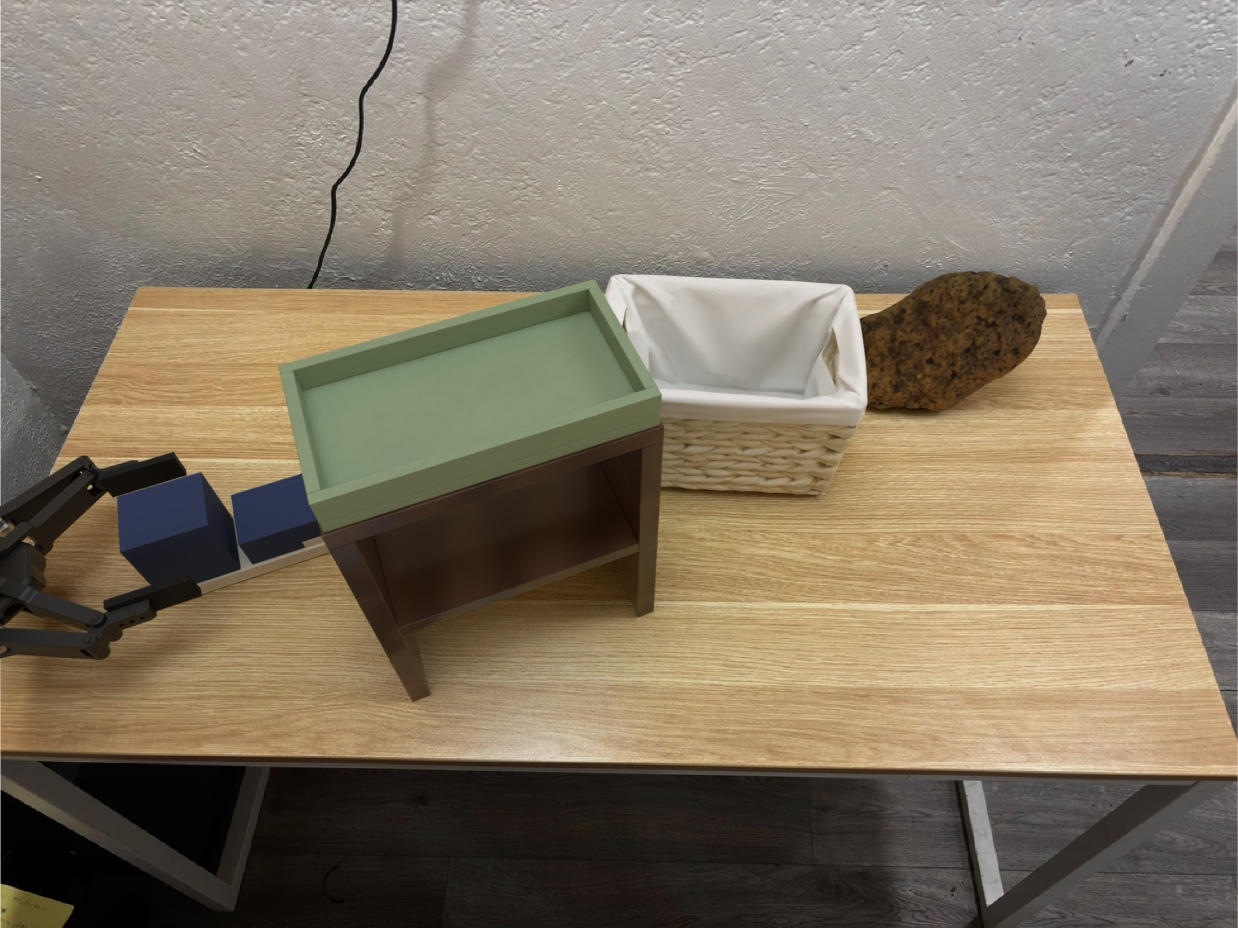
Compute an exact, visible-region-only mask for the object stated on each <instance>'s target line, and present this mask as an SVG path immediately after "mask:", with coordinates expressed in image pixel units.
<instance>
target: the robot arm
mask: <svg viewBox="0 0 1238 928" xmlns="http://www.w3.org/2000/svg"><path fill="white" fill-rule="evenodd" d="M185 476H188V472H187V469H186V467H185V466H184V464H183V463H182V462H181V460H180V459H179V457H178V456H177V454H176V453H175V452H174V451H172V452H171V451H170V452H169V453H165V454H162V455H158V456H155V457H152V458H147V459H145V460H140V461H139V460H138V459H130V460H127V461H124V462H120V463H117V464H113V465H110V466H106V467H102V468H100V467H98V466H97V465H96V464H95V462H94V461H93V460H92V459H91V458H90V456H88V455H85V454H83V455H80V456H78V457H76V458H75V459H74V460H72V461H70V462H68V463H67V464H66V465H64V466H63V467H61V468H59V469H57V470H56V471H54V472H53V473H51V474H49V475H48V476H47V477H44V479H42V480H41V481H39V482H37V483H35V484H34V485H32V486H31V487H29V488H28V489H26V490H25V491H23V492H22V493H19V494H18V495H17V496H15V497H13V498H12V499H11V500H9V501H7V502H6V503H4V504H1V505H0V660H1V659H5V658H9V657H14V656H31V657H33V656H34V657H46V658H60V659H61V658H62V659H74V660H75V659H76V660H91V661H104V660H106V659H107V658H108V657H109V656H110V655H111V652H112V649H111V647H110V644H111V643H115V642H118V641H120V640H121V639H122V638H123V635H124V632H123V631H124V630H126V629H130V628H133V627H135V626H138V625H142V624H145V623H148V622H150V621H153V620H154V619H155V618H156V617H158V612H159V611H163V610H166V609H168V608H171V607H174V606H178V605H180V604H183V603H187V602H189V601H192V600H195V599H199V598H201V597H203V594H202V592H201V588H200V587H199V586H198V585H197V583H196V582H195V581H194V580H193V579H192V578H191V576H190V575H189V574H188V573H186V574H183V575H180V576H177V577H174V578H171V579H168V580H165V581H162V582H159V583H156V584H153V585H150V584H149V585H147V586H143V587H141V588H137V589H135V590H131V591H129V592H128V591H127V592H125V593H121V594H118V595H116V596H113V597H110V598H107V599H103V600H102V602H103V603H102V604H103V609H104V612H102V610H101V611H100V610H97V609H94V608H91V607H90V606H85V605H82V604H79V603H76V602H74V601H70V600H67V599H64V598H61V597H58V596H55V595H52V594H49V593H45V592H43V590H45V589H47V579H46V575H45V571H46V568H47V557H46V556H47V555H48V554H49V553H50V552H51V551H52V550H53V548H54V543H55V541H56V540H57V539H58V538H60V537H61V536H62V534H64V533H65V532H66V531H67V530H68V529H69V528H70V527H71V526H73V525H74V523H76V522H77V521H78V520H79V519H80V518H81V517H83V515H84V514H85V513H87V511H88V510H90V509H91V508H92V507H93V506H94V505H95V504H97V502H98V501H99V500H101V498H102V497H104V496H105V495H106V494H107V493H108V494H109V495H110V496H111V498H113V499H114V498H117V497H118V496H121V495H125V494H128V493H131V492H135V491H138V490H141V489H145V488H148V487H152V486H155V485H158V484H162V483H165V482H168V481H172V480H175V479H179V478H182V477H185ZM90 486H91V487H90ZM89 487H90V488H89ZM27 538H29V539H30V540H31V541H32V542H33V544H32V543H29V542H25V541H24V540H25V539H27ZM21 612H23V613H26V614H28V615H32V616H35V617H38V618H40V619H45V618H46V619H48V620H52V621H55V622H56V623H60V624H63V625H66V626H68V627H73V628H76V629H78V630H81V631H85V632H80V631H64V630H49V629H48V630H47V629H36V628H35V629H34V628H33V629H32V628H19V627H18V628H17V627H7V626H6V625H7V624H8V623H9V622H11V621H12V620H13V619H14V618H15V617H16V616H17V615H18V614H20V613H21Z"/></svg>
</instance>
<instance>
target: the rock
mask: <svg viewBox="0 0 1238 928" xmlns="http://www.w3.org/2000/svg"><path fill="white" fill-rule="evenodd" d="M1046 304H1047V303H1046V299H1044V297H1043V296H1042V295H1041V293H1040V289H1039V287H1038V286H1035V285H1032V284H1030V283H1028V282H1026V281H1023V280H1022V279H1020V278H1018V277H1016V276H1014V275H1011V276H1005V275H1004V274H998V273H995V272H993V271H988V270H982V271H978V272H976V271H973V270H966V271H956V272H947V273H942V274H940V275H938V276H937V277H935V278H932V279H930V280H928V281H925V282H923V284H921V285H920V286H917V287H916V288H915V289H914V290H913V292H912V293H909V294H908V295H905V296H904V297H903V298H901V300H898V301H896V302H895V303H894V304H892V305H890V306H888V307H887V308H885V309H882V310H880V311H877V312H875V313H870V314H868V315H867V314H866V315H865V316H862V317H859V319H860V325H861V331H862V337H863V345H864V353H865V362H866V373H867V406H870V407H872V408H875V409H878V410H885V409H890V408H895V407H896V408H907V409H919V408H923V409H927V410H929V411H931V412H932V411H934V412H935V411H943V410H947V409H951V408H953V407H956V406H958V405H959V404H960V403H962V402H963V401H964V400H965V399H967V398H969V396H971V395H973V394H974V393H976V392H977V391H979V390H980V389H982V388H983V387H985V386H987V385H988V384H989V383H991V382H993V381H995V380H997V379H1001V378H1003V377H1005V376H1007V375H1009V374H1010V373H1011V372H1013V370H1014V369H1015V368H1016V367H1018V366H1019V365H1021V364H1022V363H1024V362H1025V361H1026V360H1027V359H1028V358H1029V357H1030V355H1031V354H1032V353H1033V352H1034V350H1035V348H1036V347H1037V345H1038V343H1039V341H1040V339H1041V336H1042V329H1043V324H1044V321H1045V319H1046V317H1047V316H1048V312H1047V311H1048V310H1047V309H1046Z"/></svg>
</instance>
